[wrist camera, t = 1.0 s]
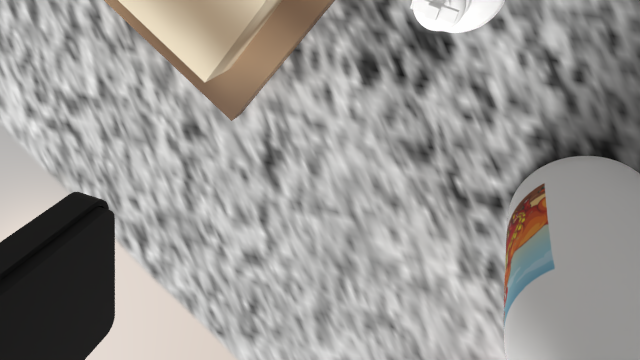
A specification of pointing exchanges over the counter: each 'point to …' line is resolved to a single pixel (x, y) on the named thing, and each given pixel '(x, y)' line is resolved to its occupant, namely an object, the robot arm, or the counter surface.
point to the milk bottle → (574, 263)
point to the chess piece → (455, 13)
